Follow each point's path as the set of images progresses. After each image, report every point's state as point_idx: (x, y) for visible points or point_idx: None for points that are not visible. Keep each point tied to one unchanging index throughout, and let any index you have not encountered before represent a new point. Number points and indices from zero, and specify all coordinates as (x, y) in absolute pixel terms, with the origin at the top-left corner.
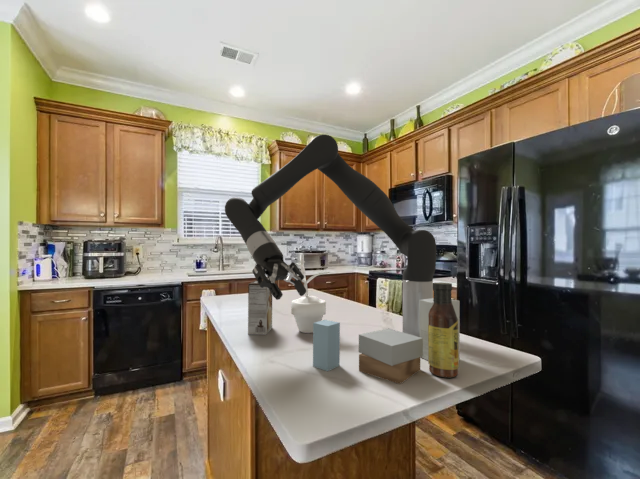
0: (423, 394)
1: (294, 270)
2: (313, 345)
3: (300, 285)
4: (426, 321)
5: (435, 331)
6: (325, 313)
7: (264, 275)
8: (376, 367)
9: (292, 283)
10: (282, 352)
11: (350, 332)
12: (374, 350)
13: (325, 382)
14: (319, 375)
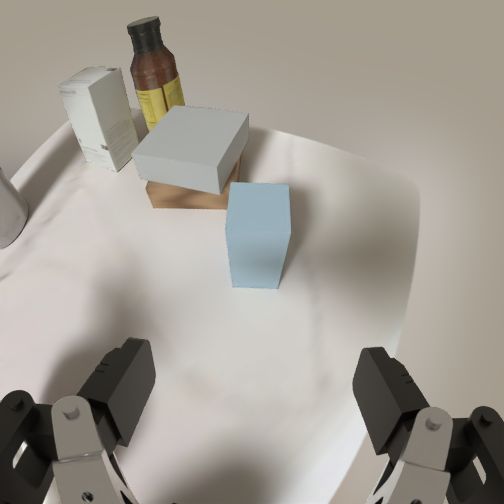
0: (250, 132)
1: (2, 491)
2: (282, 266)
3: (127, 375)
4: (112, 108)
5: (177, 83)
6: None
7: (500, 452)
8: (237, 170)
9: (118, 466)
10: (256, 414)
11: (22, 345)
12: (235, 152)
13: (318, 226)
14: (304, 250)
